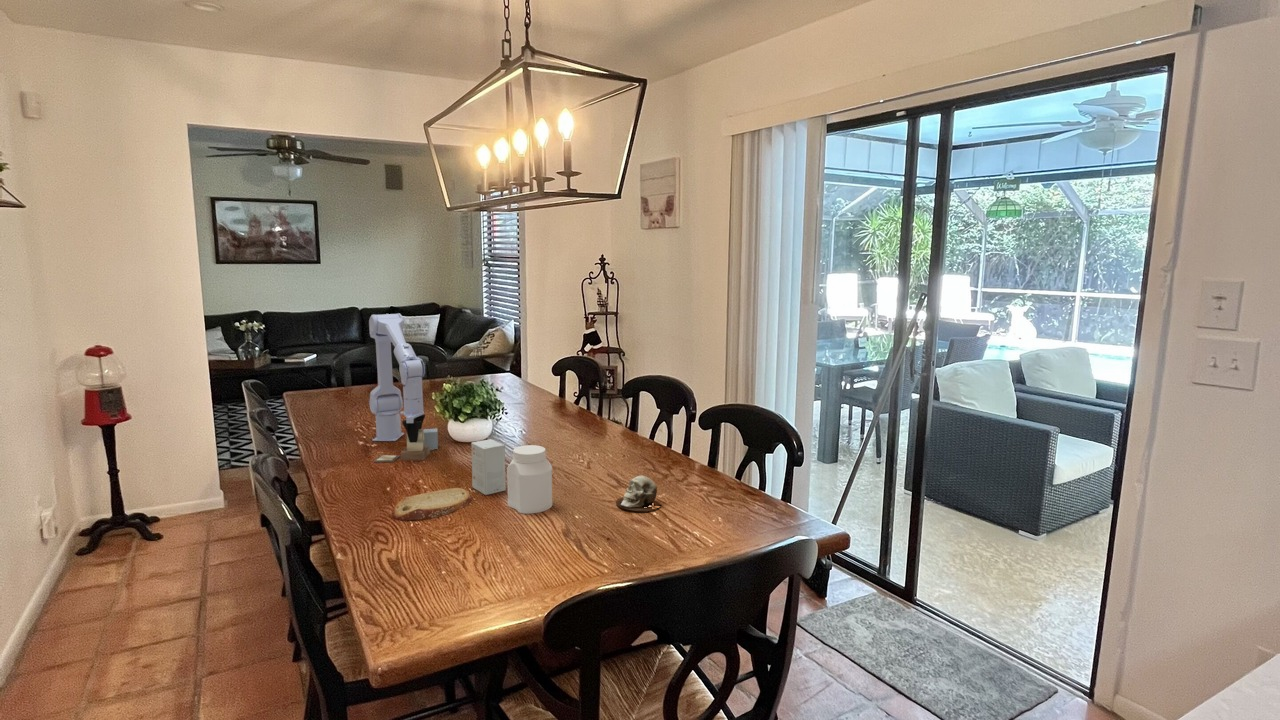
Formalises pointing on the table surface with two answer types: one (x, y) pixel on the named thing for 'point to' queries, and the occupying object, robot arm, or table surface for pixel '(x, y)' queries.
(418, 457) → the walnut block
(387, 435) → the robot arm
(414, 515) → the slice of bread
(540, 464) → the jar
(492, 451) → the small box
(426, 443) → the slate block
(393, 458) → the swatch tile
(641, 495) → the skull
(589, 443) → the table surface
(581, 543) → the table surface
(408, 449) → the maple block
